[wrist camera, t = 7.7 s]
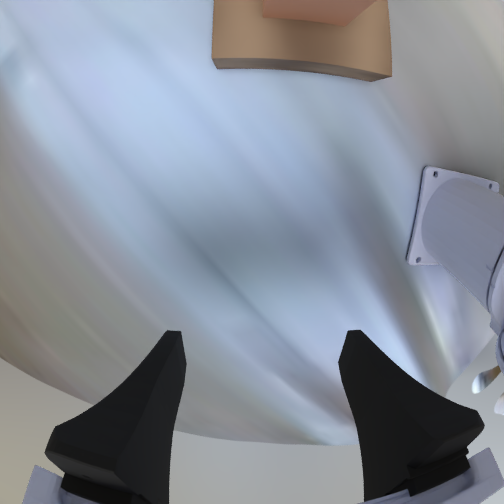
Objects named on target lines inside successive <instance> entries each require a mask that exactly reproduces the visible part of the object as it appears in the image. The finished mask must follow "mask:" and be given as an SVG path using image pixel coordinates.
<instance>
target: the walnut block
mask: <svg viewBox="0 0 504 504" xmlns="http://www.w3.org/2000/svg"><path fill="white" fill-rule="evenodd" d="M212 60H213V62H214V64H215V66H216V68H217V69H276V70H291V71H303V72H313V73H321V74H329V75H336V76H342V77H348V78H354V79H360V80H365V81H370V82H372V81H376V80H380V79H384V78H388V77H392V54H391V35H390V22H389V11H388V2H387V0H377V1H375V2H374V3H373V4H372V5H370V6H369V7H368V8H367V9H365V10H364V11H363V12H362V13H360V14H359V15H358V16H357V17H356V18H354V19H353V20H352V21H351V22H350V23H349V24H347V25H346V26H345V27H344V26H339V25H333V24H327V23H320V22H313V21H304V20H295V19H282V18H263V0H214V11H213V33H212Z"/></svg>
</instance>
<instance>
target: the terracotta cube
mask: <svg viewBox="0 0 504 504" xmlns="http://www.w3.org/2000/svg"><path fill="white" fill-rule="evenodd" d="M375 1H377V0H263V18H282V19H295V20H304V21H313V22H320V23H327V24H333V25H339V26H344V27H345V26H346V25H347V24H349V23H350V22H351V21H352V20H353V19H354V18H356V17H357V16H358V15H359V14H360V13H362V12H363V11H364V10H365V9H367V8H368V7H369V6H370V5H372V4H373V3H374V2H375Z"/></svg>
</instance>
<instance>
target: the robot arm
mask: <svg viewBox="0 0 504 504" xmlns="http://www.w3.org/2000/svg"><path fill="white" fill-rule="evenodd" d="M434 171H435V176H433V173H434ZM498 193H499V183H498V182H495V181H492V180H488V179H485V178H481V177H477V176H473V175H469V174H465V173H460V172H456V171H451V170H447V169H442V168H437V167H432V166H427V167H425V169H424V171H423V178H422V185H421V191H420V198H419V204H418V209H417V215H416V220H415V225H414V229H413V234H412V239H411V243H410V247H409V251H408V256H407V262H408V263H409V264H410V265H442V266H443V267H444V268H445V269H446V270H447V271H448V272H449V273H450V274H451V275H452V276H453V277H455V278H456V279H457V280H458V281H459V282H460V283H461V284H462V285H463V286H464V287H465V288H466V289H467V290H468V291H469V292H470V293H471V294H472V295H473V296H474V297H475V298H476V299H477V300H478V301H479V302H480V303H481V304H482V305H483V307H484V308H485V309H486V310H487V311H488V312H489V313H490V314H491V323H490V327H491V328H492V329H493V330H494V332H495V333H496V334H497V335H498V336H499V337H498V339H497V343H496V358H497V362H498V365H499V367H500V369H501V371H502V373H503V374H504V196H503V195H500V194H498ZM418 257H419V258H418ZM417 258H418V260H416V259H417ZM186 364H187V363H186V358H185V352H184V347H183V341H182V335H181V331H169V330H167V331H166V332H165V333H164V334H163V336H162V337H161V339H160V340H159V341H158V343H157V344H156V345H155V346H154V348H153V349H152V350H151V352H150V353H149V354H148V355H147V356H146V358H145V359H144V360H143V361H142V362H141V364H140V365H139V366H138V367H137V368H136V369H135V370H134V371H133V372H132V373H131V375H130V376H129V377H128V378H127V379H126V380H125V381H124V382H123V383H122V384H120V385H119V386H118V387H117V388H116V389H115V390H114V391H113V392H111V393H110V394H109V395H108V396H106V397H105V398H104V399H103V400H101V401H100V402H99V403H97V404H96V405H94V406H93V407H91V408H90V409H88V410H87V411H85V412H83V413H82V414H80V415H79V416H76V417H75V418H73V419H71V420H68V421H66V422H64V423H62V424H60V425H58V426H55V428H54V430H53V432H52V434H51V436H50V439H49V442H48V444H47V447H46V450H45V455H46V456H47V458H48V459H49V460H50V461H52V462H53V463H54V464H55V465H56V466H57V467H58V468H60V469H61V470H62V471H63V472H65V474H64V477H63V478H62V477H60V476H58V475H57V474H55V473H52V472H50V471H48V470H46V469H44V468H41V467H39V466H37V465H35V466H34V469H33V472H32V475H31V477H30V480H29V484H28V486H27V490H26V493H25V496H24V499H23V503H22V504H169V475H170V458H171V446H172V437H173V430H174V424H175V420H176V416H177V412H178V407H179V403H180V399H181V395H182V391H183V387H184V381H185V373H186ZM338 364H339V370H340V375H341V380H342V383H343V387H344V390H345V393H346V396H347V399H348V402H349V405H350V408H351V411H352V414H353V417H354V420H355V423H356V427H357V432H358V438H359V443H360V450H361V457H362V466H363V478H364V502H362V503H358V504H480V503H481V502H483V501H484V500H486V499H487V498H488V497H490V496H491V495H493V494H494V493H496V492H497V491H498V490H500V489H501V488H502V487H504V480H503V477H502V475H501V472H500V470H499V468H498V465H497V463H496V461H495V459H494V456H493V454H492V452H491V450H490V448H486V449H484V450H483V451H481V452H479V453H477V454H476V455H474V456H472V457H471V458H469V459H468V460H467V457H466V455H467V454H468V453H469V451H468V449H467V446H468V445H469V444H470V443H471V442H472V441H473V440H474V439H475V438H476V437H477V436H478V435H479V434H480V433H481V432H482V431H483V429H484V426H485V425H484V423H483V421H482V419H481V417H480V415H479V413H478V412H477V411H476V410H473V409H470V408H468V407H464V406H462V405H459V404H457V403H454V402H452V401H450V400H448V399H446V398H444V397H442V396H440V395H438V394H437V393H435V392H433V391H432V390H430V389H428V388H427V387H425V386H424V385H422V384H421V383H419V382H418V381H416V380H415V379H414V378H412V377H411V376H410V375H408V374H407V373H406V372H405V371H404V370H402V369H401V368H400V367H399V366H398V365H396V364H395V363H394V362H393V361H392V360H391V359H390V358H389V357H388V356H387V355H386V354H385V353H384V352H383V351H381V350H380V349H379V348H378V347H377V346H376V345H375V344H374V343H373V342H372V341H371V340H370V339H369V338H368V337H367V336H366V335H365V334H364V333H363V332H362V331H361V330H349V331H348V332H347V335H346V339H345V342H344V345H343V349H342V352H341V355H340V358H339V361H338Z"/></svg>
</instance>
